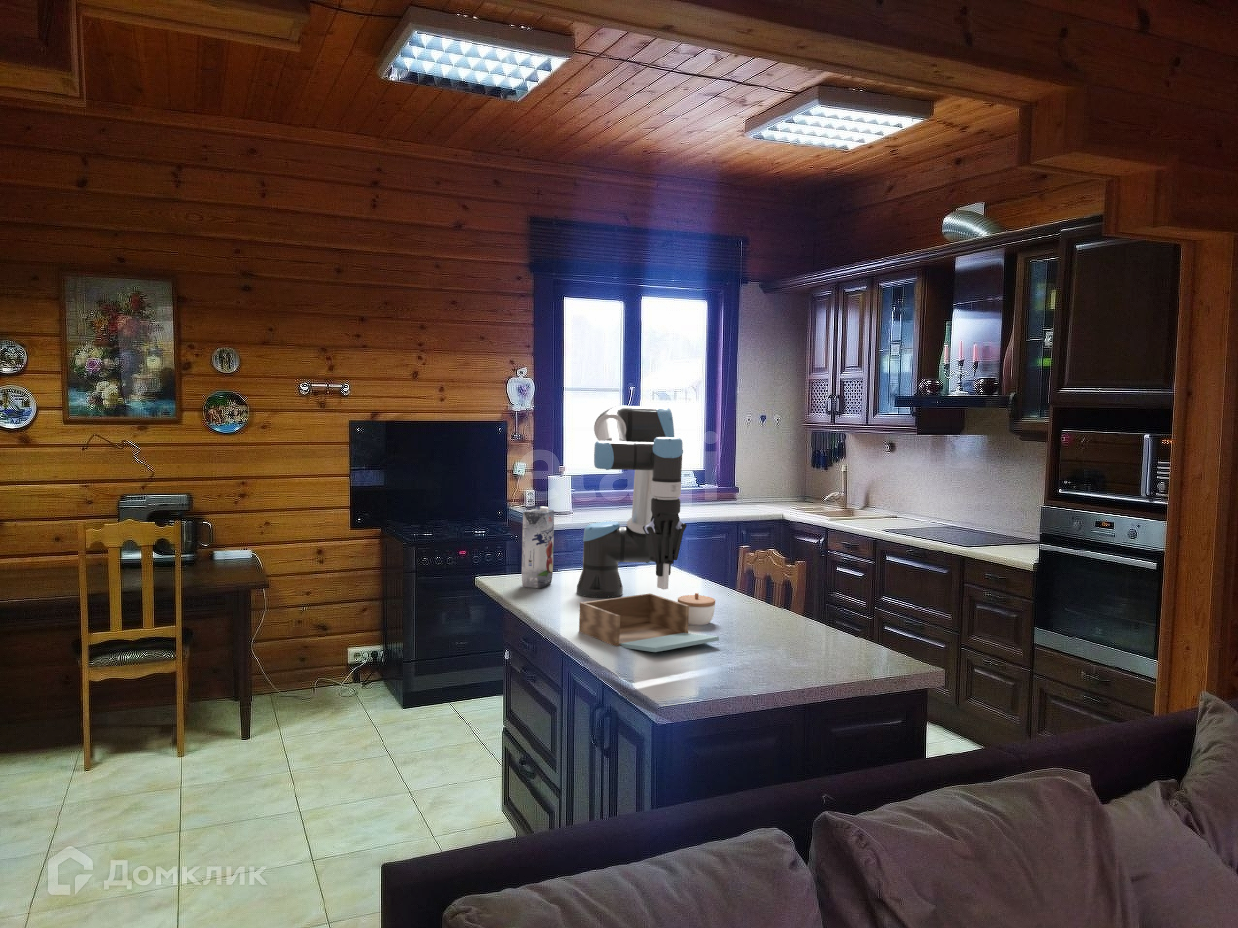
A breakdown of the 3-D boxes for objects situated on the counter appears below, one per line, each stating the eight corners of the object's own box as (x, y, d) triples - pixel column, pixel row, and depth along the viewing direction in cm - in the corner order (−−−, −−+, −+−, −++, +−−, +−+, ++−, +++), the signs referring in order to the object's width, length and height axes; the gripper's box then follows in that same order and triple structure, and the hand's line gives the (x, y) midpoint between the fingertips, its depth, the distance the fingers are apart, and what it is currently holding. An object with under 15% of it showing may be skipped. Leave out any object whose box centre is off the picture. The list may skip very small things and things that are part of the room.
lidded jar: (720, 624, 259) (721, 592, 258) (704, 632, 249) (705, 599, 249) (687, 619, 264) (688, 587, 263) (670, 626, 255) (671, 594, 254)
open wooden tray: (578, 635, 242) (579, 602, 241) (649, 624, 256) (650, 593, 256) (615, 650, 228) (616, 616, 228) (687, 638, 242) (689, 605, 242)
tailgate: (618, 642, 230) (654, 647, 218) (681, 632, 242) (718, 636, 230) (618, 646, 230) (654, 652, 218) (681, 636, 242) (719, 640, 230)
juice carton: (518, 587, 301) (520, 507, 299) (530, 581, 311) (532, 503, 309) (543, 589, 298) (545, 508, 296) (554, 583, 308) (556, 505, 306)
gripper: (655, 500, 223) (651, 593, 225) (694, 498, 231) (691, 588, 233) (636, 497, 229) (633, 587, 231) (676, 494, 237) (672, 582, 239)
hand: (662, 587), depth 232 cm, fingers closed
